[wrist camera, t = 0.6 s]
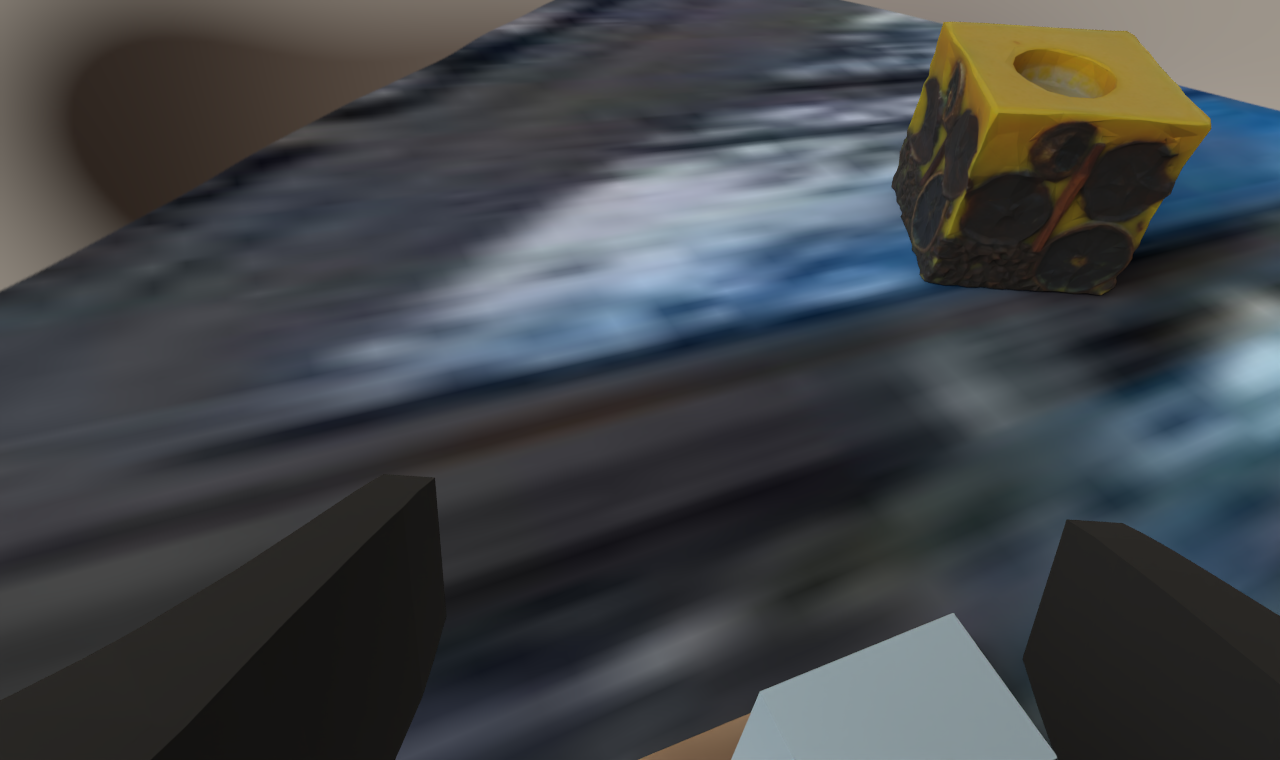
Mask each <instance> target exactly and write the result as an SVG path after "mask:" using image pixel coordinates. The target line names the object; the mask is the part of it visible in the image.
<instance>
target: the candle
mask: <svg viewBox="0 0 1280 760" xmlns="http://www.w3.org/2000/svg"><path fill="white" fill-rule="evenodd" d="M1210 130H1211V120H1210V118H1209V117H1208V116H1207V115H1206V114H1205V113H1204V112H1203V111H1202V110H1200V109H1199V108H1198V107H1197V106H1196V105H1195V104H1194V103H1193V102H1192V101H1191V100H1190V99H1189V98H1188V97H1187V96H1186V95H1185V94H1184V93H1183V91H1182V90H1181V88H1180V87H1179V86H1178V85H1177V84H1176V83H1175V82H1174V81H1173V80H1172V79H1171V78H1170V77H1169V76H1168V75H1167V73H1166V72H1165V71H1164V70H1163V69H1162V68H1161V67H1160V66H1159V65H1158V63H1157V62H1156V61H1155V60H1154V58H1153V57H1152V56H1151V54H1150V53H1149V52H1148V51H1147V50H1146V49H1145V48H1144V47H1143V46H1142V45H1141V44H1140V42H1139V41H1138V40H1137V38H1136V37H1135V36H1134V35H1133V34H1131V33H1129V32H1127V31H1106V30H1105V31H1104V30H1087V29H1069V28H1049V27H1035V26H1020V25H1005V24H989V23H967V22H944V23H943V26H942V29H941V32H940V36H939V39H938V42H937V47H936V51H935V54H934V56H933V59H932V62H931V64H930V72H929V77H928V78H927V80H926V81H925V83H924V85H923V89H922V93H921V96H920V99H919V102H918V104H917V107H916V109H915V112H914V115H913V118H912V120H911V123H910V125H909V127H908V131H907V137H906V139H905V140H904V143H903V145H902V148H901V151H900V158H899V166H898V169H897V172H896V173H895V175H894V177H893V181H892V188H893V189H894V190H895V192H896V196H897V203H898V204H899V205H900V209H901V211H902V215H901V218H902V220H903V222H904V225H905V227H906V229H907V232H908V234H909V237H910V240H911V243H912V251H913V252H914V253H915V254H916V256H917V261H918V266H919V268H920V276H921V277H922V279H923V280H924V281H927V282H930V283H937V284H941V285H959V286H965V287H988V288H995V289H1014V290H1033V291H1059V292H1066V293H1072V294H1081V293H1087V294H1094V295H1102V294H1104V293H1106V292H1108V291H1110V290H1111V289H1113V288H1115V285H1116V283H1117V281H1116V277H1117V275H1118V274H1120V273H1121V272H1122V271H1123V270H1124V269H1125V268H1126V267H1127V265H1128V264H1129V262H1130V261H1131V260H1132V255H1133V253H1134V251H1135V250H1136V249H1137V248H1138V247H1139V245H1140V241H1141V239H1142V237H1143V235H1144V233H1145V231H1146V229H1147V227H1148V224H1149V222H1150V220H1151V218H1152V217H1153V215H1154V214H1155V212H1156V210H1157V209H1158V207H1159V206H1160V204H1161V202H1162V201H1163V199H1164V198H1165V197H1167V196H1168V195H1170V194H1171V191H1172V189H1173V186H1174V184H1175V181H1176V179H1177V177H1178V175H1179V173H1180V171H1181V169H1182V168H1183V166H1184V165H1185V163H1186V162H1187V161H1188V159H1189V158H1190V157H1191V155H1192V154H1193V152H1194V151H1195V150H1196V148H1197V147H1198V146H1199V144H1200V143H1201V142H1202V140H1203V139H1204V138H1205V136H1206V135H1207V134H1208V132H1209V131H1210Z"/></svg>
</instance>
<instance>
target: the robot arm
mask: <svg viewBox="0 0 1280 760" xmlns="http://www.w3.org/2000/svg"><path fill="white" fill-rule="evenodd" d="M445 619H446V606H445V594H444V582H443V570H442V558H441V546H440V534H439V522H438V510H437V498H436V486H435V478H432V477H417V476H402V475H387V474H383V475H381V476H380V477H378V478H376V479H374V480H373V481H371V482H369V483H368V484H366V485H364V486H363V487H361V488H360V489H358V490H357V491H355V492H353V493H352V494H350V495H349V496H347V497H346V498H344V499H343V500H341V501H340V502H338V503H337V504H335V505H334V506H332V507H331V508H329V509H328V510H326V511H325V512H323V513H322V514H320V515H319V516H317V517H316V518H314V519H313V520H311V521H310V522H308V523H307V524H305V525H304V526H302V527H301V528H299V529H298V530H296V531H295V532H293V533H292V534H290V535H289V536H287V537H286V538H284V539H283V540H281V541H280V542H278V543H276V544H275V545H273V546H272V547H270V548H269V549H267V550H266V551H264V552H263V553H261V554H260V555H258V556H257V557H255V558H254V559H252V560H251V561H249V562H247V563H246V564H244V565H243V566H241V567H240V568H238V569H237V570H235V571H233V572H232V573H230V574H228V575H227V576H225V577H223V578H222V579H220V580H218V581H217V582H215V583H213V584H212V585H210V586H208V587H207V588H205V589H203V590H202V591H200V592H198V593H197V594H195V595H193V596H192V597H190V598H188V599H187V600H185V601H183V602H182V603H180V604H178V605H177V606H175V607H173V608H172V609H170V610H168V611H167V612H165V613H163V614H162V615H160V616H158V617H157V618H155V619H153V620H152V621H150V622H148V623H147V624H145V625H143V626H142V627H140V628H138V629H136V630H135V631H133V632H131V633H129V634H128V635H126V636H124V637H122V638H120V639H119V640H117V641H115V642H113V643H111V644H109V645H108V646H106V647H104V648H102V649H100V650H98V651H96V652H95V653H93V654H91V655H89V656H87V657H85V658H83V659H82V660H80V661H78V662H76V663H74V664H72V665H70V666H68V667H66V668H64V669H62V670H60V671H58V672H56V673H54V674H52V675H50V676H48V677H46V678H44V679H42V680H40V681H38V682H36V683H34V684H32V685H30V686H28V687H26V688H24V689H22V690H20V691H19V692H17V693H15V694H13V695H10V696H8V697H6V698H4V699H2V700H0V760H395V759H396V756H397V754H398V752H399V749H400V747H401V745H402V743H403V740H404V738H405V736H406V733H407V731H408V729H409V726H410V724H411V722H412V720H413V717H414V715H415V713H416V710H417V708H418V705H419V703H420V701H421V698H422V696H423V693H424V690H425V687H426V683H427V680H428V677H429V674H430V671H431V667H432V664H433V661H434V658H435V654H436V651H437V647H438V644H439V640H440V637H441V633H442V630H443V626H444V623H445ZM1023 661H1024V664H1025V668H1026V671H1027V674H1028V677H1029V680H1030V684H1031V687H1032V690H1033V693H1034V696H1035V699H1036V703H1037V706H1038V709H1039V711H1040V714H1041V717H1042V720H1043V723H1044V725H1045V728H1046V731H1047V734H1048V737H1049V740H1050V742H1051V745H1052V747H1053V749H1054V752H1055V754H1056V756H1057V758H1058V760H1280V616H1279V615H1277V614H1276V613H1274V612H1272V611H1271V610H1269V609H1267V608H1266V607H1264V606H1263V605H1261V604H1259V603H1258V602H1256V601H1255V600H1253V599H1251V598H1250V597H1248V596H1246V595H1245V594H1243V593H1242V592H1240V591H1238V590H1237V589H1235V588H1234V587H1232V586H1230V585H1229V584H1227V583H1226V582H1224V581H1222V580H1221V579H1219V578H1217V577H1216V576H1214V575H1213V574H1211V573H1209V572H1208V571H1206V570H1204V569H1203V568H1201V567H1200V566H1198V565H1196V564H1195V563H1193V562H1191V561H1190V560H1188V559H1186V558H1185V557H1183V556H1181V555H1180V554H1178V553H1176V552H1175V551H1173V550H1171V549H1169V548H1168V547H1166V546H1164V545H1163V544H1161V543H1159V542H1157V541H1156V540H1154V539H1152V538H1150V537H1148V536H1146V535H1145V534H1143V533H1141V532H1139V531H1137V530H1135V529H1133V528H1131V527H1129V526H1127V525H1125V524H1123V523H1111V522H1096V521H1081V520H1066V524H1065V527H1064V530H1063V533H1062V536H1061V539H1060V542H1059V546H1058V549H1057V552H1056V555H1055V558H1054V561H1053V565H1052V568H1051V571H1050V574H1049V577H1048V580H1047V583H1046V587H1045V590H1044V593H1043V596H1042V599H1041V602H1040V605H1039V609H1038V612H1037V615H1036V618H1035V621H1034V624H1033V628H1032V631H1031V634H1030V637H1029V640H1028V643H1027V646H1026V650H1025V653H1024V656H1023Z"/></svg>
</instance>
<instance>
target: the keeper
mask: <svg viewBox="0 0 1280 760" xmlns="http://www.w3.org/2000/svg"><path fill="white" fill-rule="evenodd" d="M1056 758H1057V756H1056V754H1055V753H1054V751H1053V750H1052V749H1051V747H1050V746H1049V744H1048V743H1047V742H1046V740H1045V739H1044V738H1043V736H1042V735H1041V733H1040V732H1039V731H1038V729H1037V728H1036V727H1035V725H1034V724H1033V722H1032V721H1031V720H1030V718H1029V717H1028V715H1027V714H1026V713H1025V711H1024V710H1023V709H1022V707H1021V706H1020V704H1019V703H1018V702H1017V700H1016V699H1015V697H1014V696H1013V695H1012V693H1011V692H1010V691H1009V689H1008V688H1007V686H1006V685H1005V684H1004V682H1003V681H1002V679H1001V678H1000V677H999V675H998V674H997V673H996V671H995V670H994V668H993V667H992V666H991V664H990V663H989V661H988V660H987V659H986V657H985V656H984V655H983V653H982V652H981V650H980V649H979V648H978V646H977V645H976V643H975V642H974V641H973V639H972V638H971V637H970V635H969V634H968V632H967V631H966V630H965V628H964V627H963V626H962V624H961V623H960V621H959V620H958V619H957V617H956V616H955V614H954V613H952V614H949V615H947V616H944V617H942V618H939V619H937V620H934V621H932V622H930V623H927V624H925V625H922V626H920V627H917V628H915V629H912V630H910V631H907V632H905V633H903V634H900V635H898V636H895V637H893V638H890V639H888V640H885V641H883V642H880V643H878V644H876V645H873V646H871V647H868V648H866V649H863V650H861V651H858V652H856V653H853V654H851V655H849V656H846V657H844V658H841V659H839V660H836V661H834V662H831V663H829V664H826V665H824V666H822V667H819V668H817V669H814V670H812V671H809V672H807V673H804V674H802V675H799V676H797V677H795V678H792V679H790V680H787V681H785V682H782V683H780V684H777V685H775V686H772V687H770V688H768V689H765V690H763V691H760V693H759V695H758V697H757V700H756V702H755V704H754V707H753V709H752V712H751V714H750V716H749V719H748V721H747V723H746V726H745V728H744V730H743V733H742V735H741V737H740V740H739V742H738V744H737V747H736V749H735V752H734V754H733V756H732V759H731V760H1055V759H1056Z"/></svg>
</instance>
